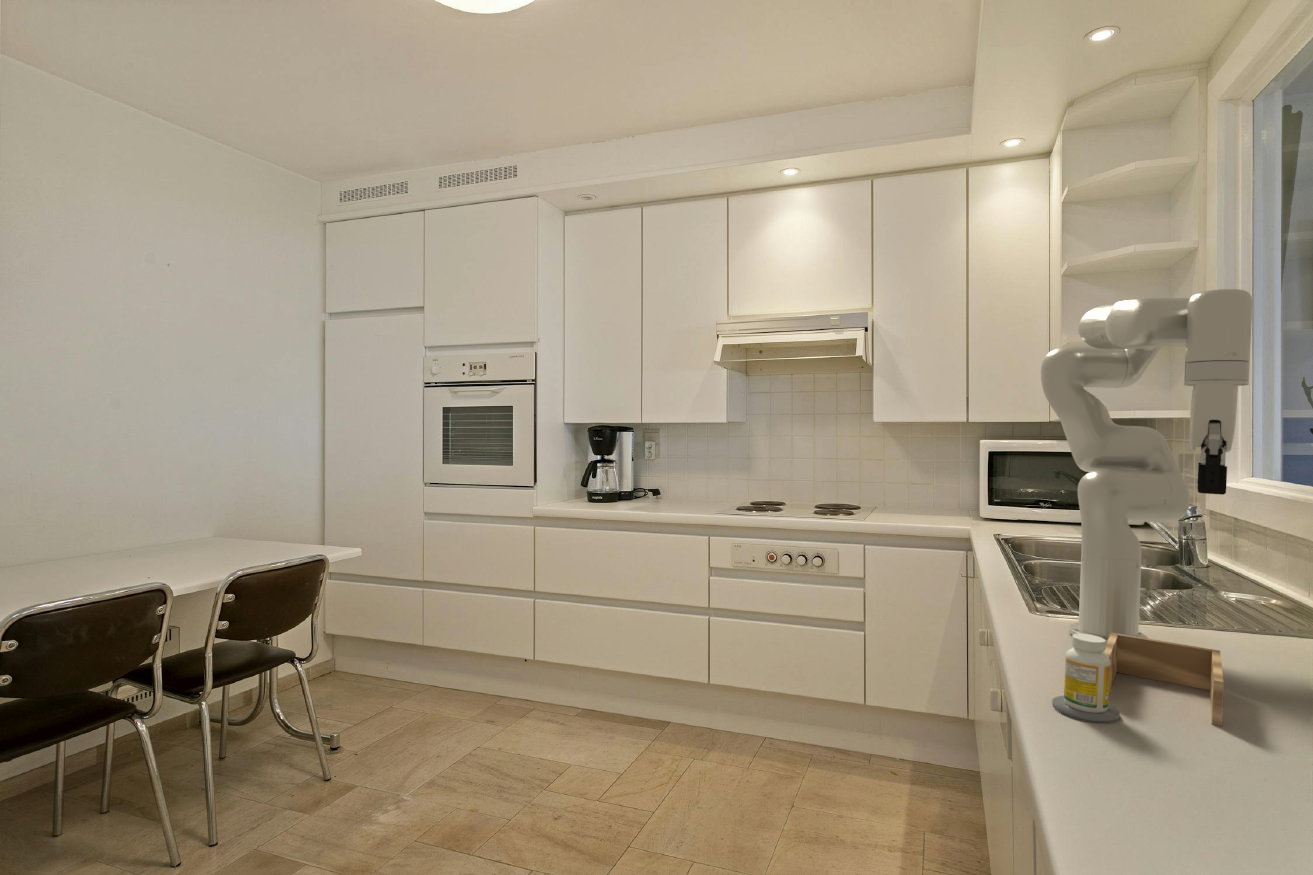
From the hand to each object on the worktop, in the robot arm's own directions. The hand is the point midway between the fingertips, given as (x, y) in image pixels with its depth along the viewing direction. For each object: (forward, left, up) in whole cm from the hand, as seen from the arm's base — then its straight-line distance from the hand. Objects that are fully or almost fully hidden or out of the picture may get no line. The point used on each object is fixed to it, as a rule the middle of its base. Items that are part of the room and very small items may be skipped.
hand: (1210, 491), depth 106 cm
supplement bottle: (+19, -13, -30) cm, 38 cm away
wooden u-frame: (+5, -5, -30) cm, 31 cm away
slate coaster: (+19, -13, -30) cm, 38 cm away
